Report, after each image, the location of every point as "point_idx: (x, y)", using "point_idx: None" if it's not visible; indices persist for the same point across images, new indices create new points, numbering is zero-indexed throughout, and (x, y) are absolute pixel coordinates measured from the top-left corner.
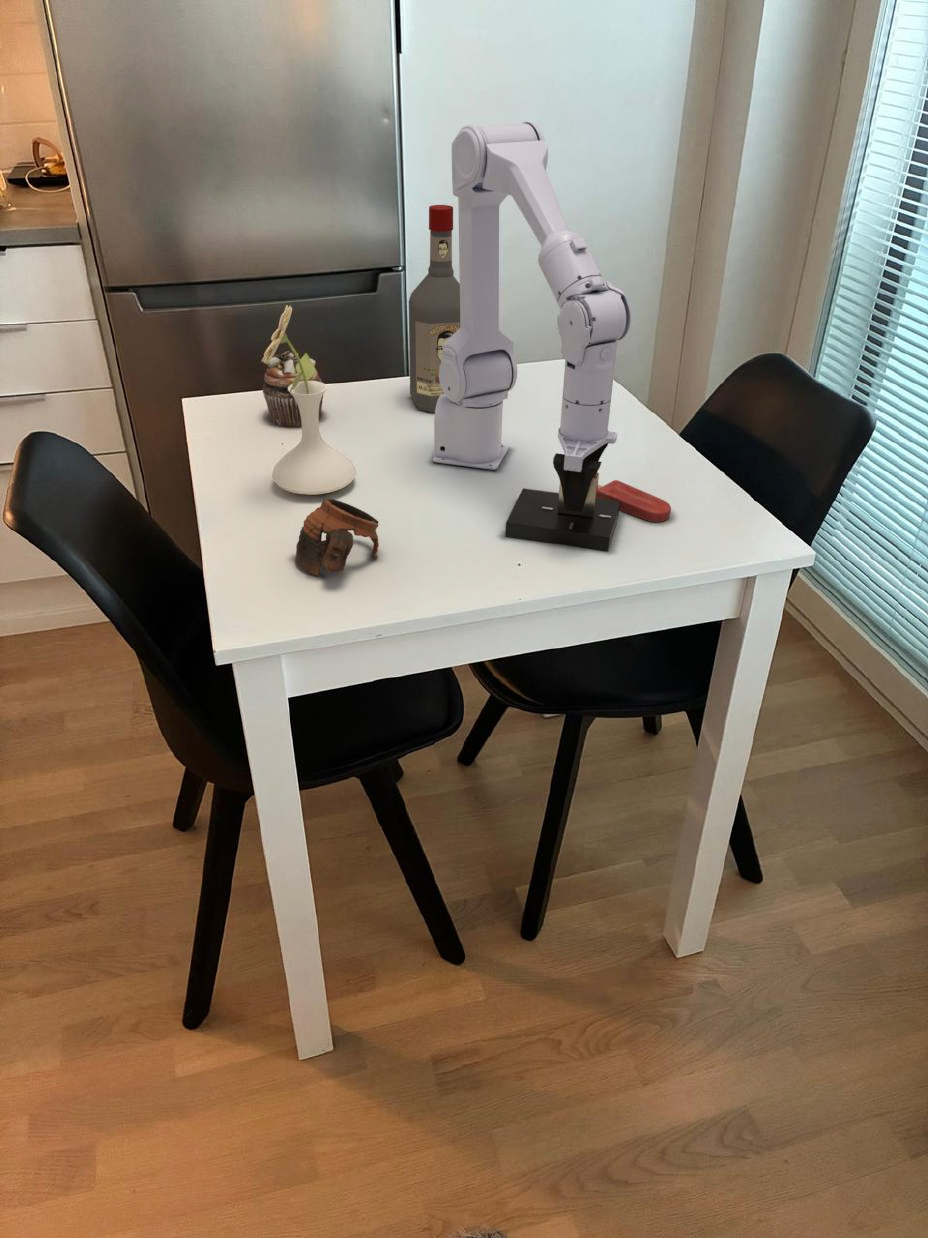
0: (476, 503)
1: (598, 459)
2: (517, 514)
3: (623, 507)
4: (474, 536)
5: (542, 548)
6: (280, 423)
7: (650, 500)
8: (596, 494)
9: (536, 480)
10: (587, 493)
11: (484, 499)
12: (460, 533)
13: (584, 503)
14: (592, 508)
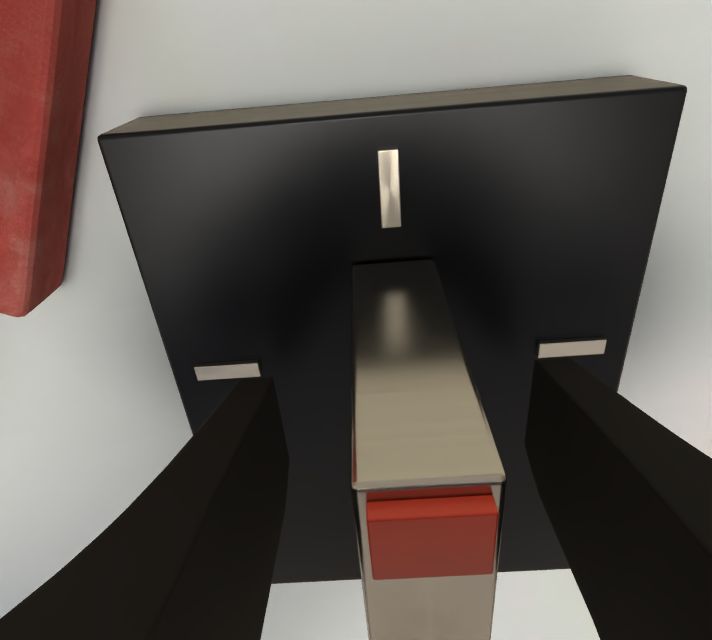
0: (336, 620)
1: (165, 620)
2: None
3: (71, 103)
4: (570, 577)
5: (632, 385)
6: None
7: None
8: (388, 338)
9: (44, 528)
10: (620, 434)
11: (297, 611)
12: (557, 607)
13: (607, 386)
14: (446, 298)
